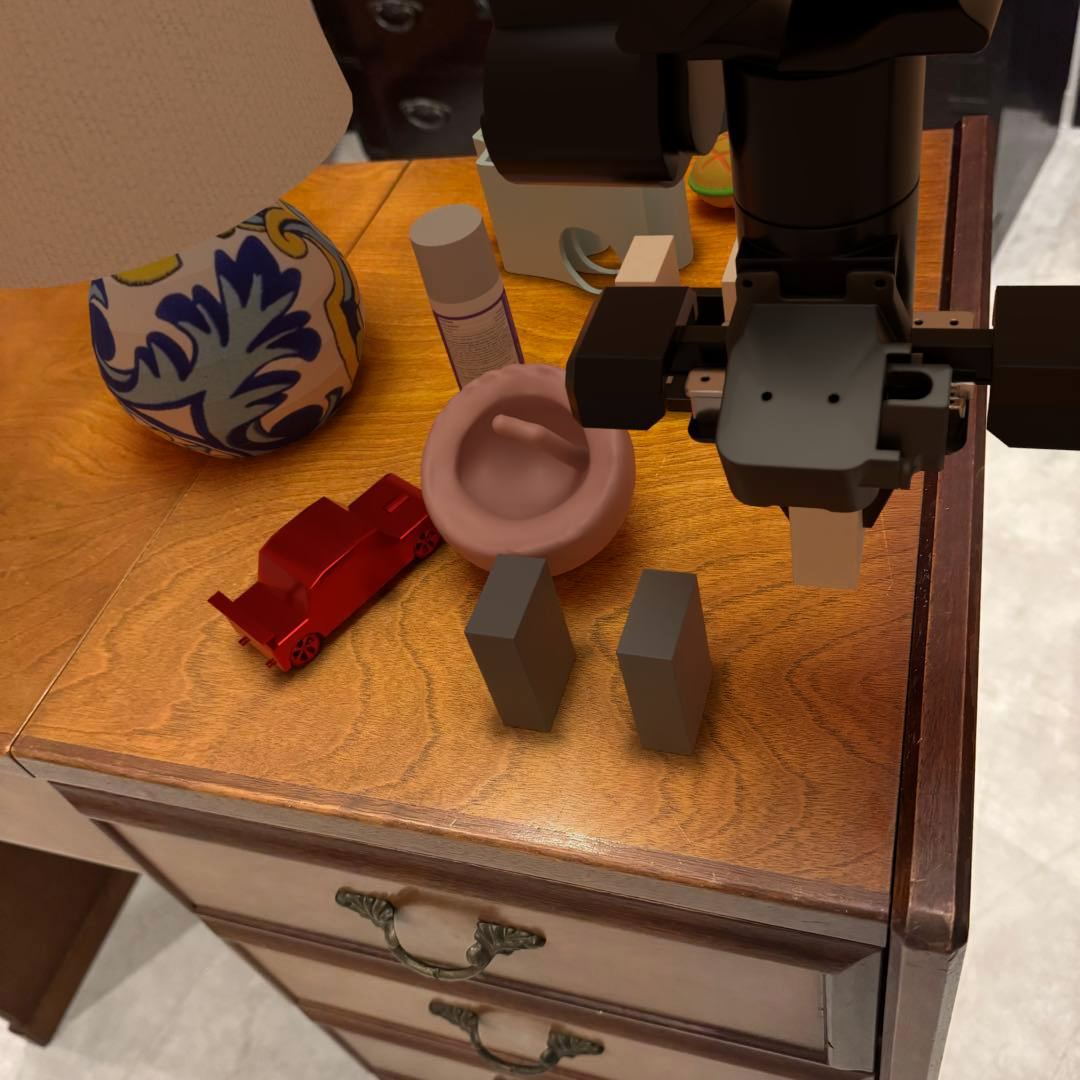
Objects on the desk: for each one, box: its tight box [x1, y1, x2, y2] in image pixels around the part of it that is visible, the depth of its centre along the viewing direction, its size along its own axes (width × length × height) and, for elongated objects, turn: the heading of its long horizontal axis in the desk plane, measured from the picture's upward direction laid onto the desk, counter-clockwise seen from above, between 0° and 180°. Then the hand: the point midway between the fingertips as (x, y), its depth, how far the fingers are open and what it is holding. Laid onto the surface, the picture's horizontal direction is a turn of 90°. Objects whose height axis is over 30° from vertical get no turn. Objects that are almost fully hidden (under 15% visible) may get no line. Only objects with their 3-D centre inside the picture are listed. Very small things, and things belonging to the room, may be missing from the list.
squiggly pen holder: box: [472, 127, 695, 296], centre depth 82 cm, size 18×10×9 cm, turn 56°
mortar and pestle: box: [420, 362, 637, 577], centre depth 60 cm, size 12×12×11 cm
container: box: [408, 203, 526, 392], centre depth 67 cm, size 5×5×15 cm
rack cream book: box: [614, 235, 682, 383], centre depth 69 cm, size 3×5×8 cm, turn 162°
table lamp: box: [0, 0, 367, 459], centre depth 66 cm, size 27×27×40 cm
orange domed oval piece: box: [687, 130, 735, 209], centre depth 84 cm, size 7×10×5 cm
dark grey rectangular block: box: [463, 554, 577, 733], centre depth 54 cm, size 3×5×8 cm, turn 162°
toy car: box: [206, 472, 441, 673], centre depth 63 cm, size 14×6×5 cm, turn 137°
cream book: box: [788, 507, 867, 592], centre depth 43 cm, size 3×5×8 cm, turn 163°
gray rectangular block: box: [615, 568, 714, 757], centre depth 51 cm, size 3×5×8 cm, turn 162°
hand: (831, 518), depth 45 cm, fingers closed on cream book, 2 cm apart
